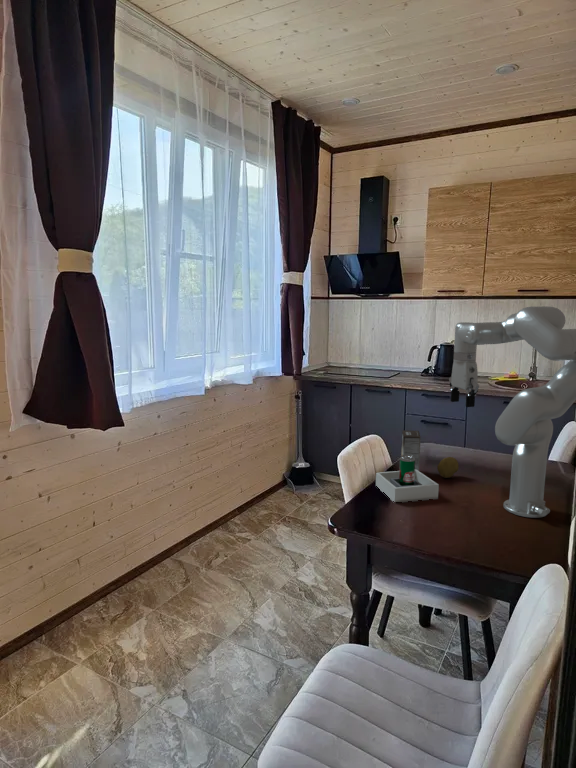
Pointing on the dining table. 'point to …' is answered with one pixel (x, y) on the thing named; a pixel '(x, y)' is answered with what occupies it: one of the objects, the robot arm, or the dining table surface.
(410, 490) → the walled box
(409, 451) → the coffee box
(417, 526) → the dining table surface
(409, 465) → the soda can
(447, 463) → the potato
